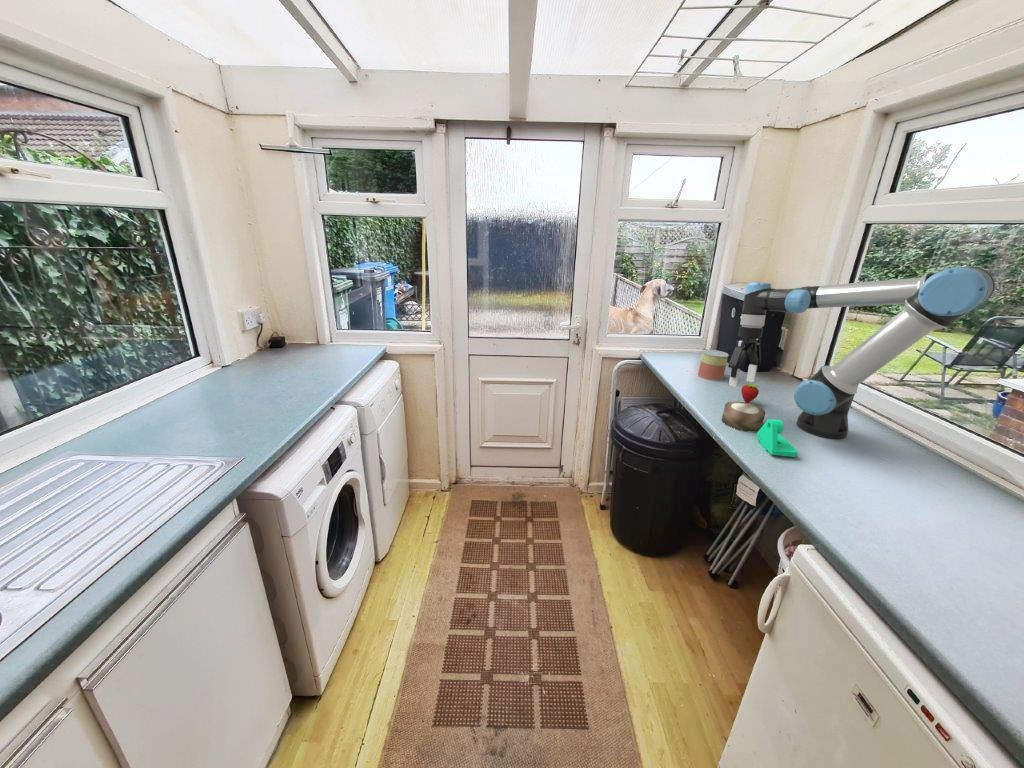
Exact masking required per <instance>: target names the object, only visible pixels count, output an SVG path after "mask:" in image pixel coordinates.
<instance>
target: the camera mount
mask: <svg viewBox="0 0 1024 768" xmlns="http://www.w3.org/2000/svg"><path fill="white" fill-rule="evenodd" d="M783 431H784V422H783V421H782V420H781V419H772V418H771V419H770V418H768V419H767V420H766V421H765V423H764V424H762V427H761V429H760V430H759V431H756V435H755V437H756V438H757V440H758V442H759V445H760V444H761V445H760V446H761V448H762V449H763V448H764V449H765V450H766V451H765V450H764V449H763V450H764V451H765V452H768V451H769V452H768V453H770V455H774V456H784V457H792V458H793V457H794V458H795V457H797V455H798V450H796V448H795V447H794V446H793V445H792V444H791V443H790V442H789V441H788V440H787V439H786V438H785V437H784V435H781V434H782V433H783Z"/></svg>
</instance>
